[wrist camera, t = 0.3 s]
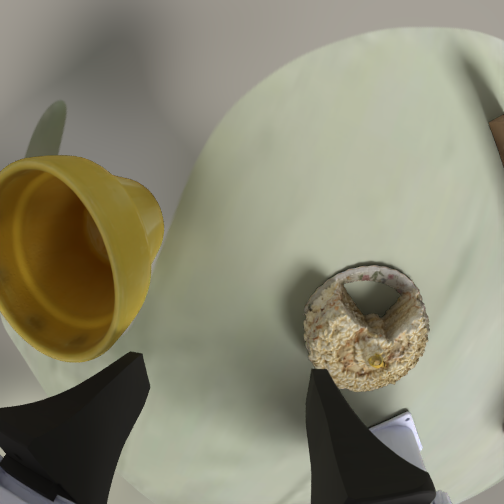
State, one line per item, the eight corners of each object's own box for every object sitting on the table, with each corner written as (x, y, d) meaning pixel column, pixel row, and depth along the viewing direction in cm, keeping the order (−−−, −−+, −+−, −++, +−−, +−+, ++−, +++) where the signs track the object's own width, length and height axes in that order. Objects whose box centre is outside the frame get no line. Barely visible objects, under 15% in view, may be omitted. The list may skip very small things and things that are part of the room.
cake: (406, 362, 23) (423, 407, 18) (296, 370, 24) (297, 420, 19) (432, 260, 19) (466, 299, 14) (298, 264, 20) (302, 309, 15)
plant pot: (96, 127, 18) (-6, 126, 9) (217, 193, 19) (161, 232, 10) (57, 245, 21) (-27, 293, 12) (156, 311, 22) (96, 397, 13)
